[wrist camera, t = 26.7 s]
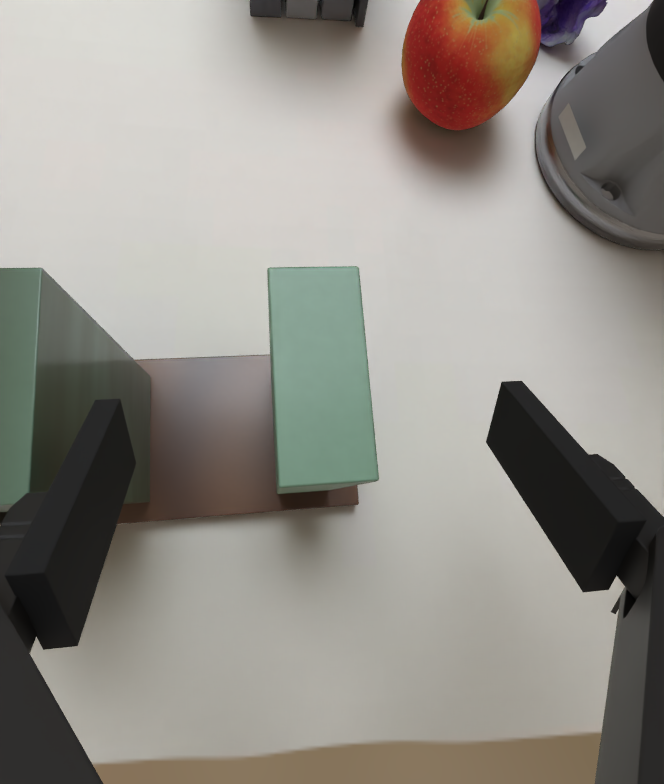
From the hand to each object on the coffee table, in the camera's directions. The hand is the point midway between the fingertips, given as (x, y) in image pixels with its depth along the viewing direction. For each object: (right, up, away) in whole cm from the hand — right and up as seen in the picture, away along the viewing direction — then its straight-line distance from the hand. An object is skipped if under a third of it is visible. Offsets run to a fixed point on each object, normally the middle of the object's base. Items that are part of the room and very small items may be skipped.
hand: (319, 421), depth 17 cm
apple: (+9, +22, +18) cm, 30 cm away
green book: (-1, -1, +11) cm, 11 cm away
